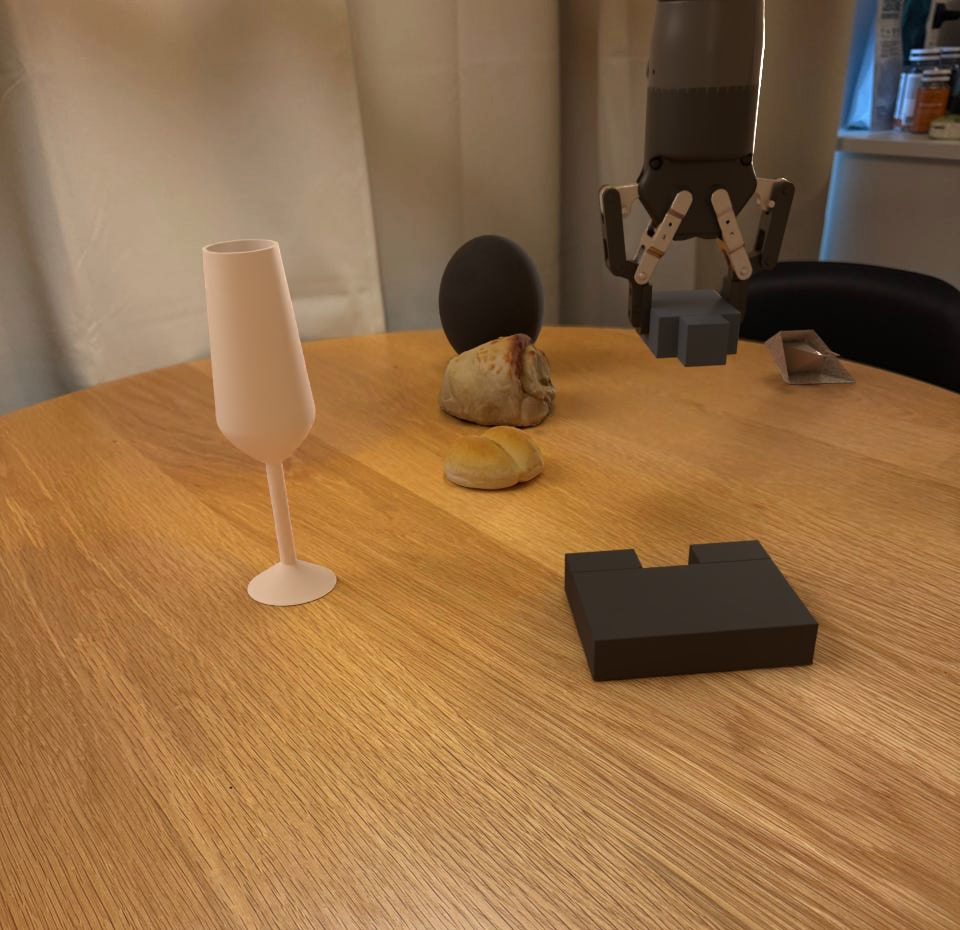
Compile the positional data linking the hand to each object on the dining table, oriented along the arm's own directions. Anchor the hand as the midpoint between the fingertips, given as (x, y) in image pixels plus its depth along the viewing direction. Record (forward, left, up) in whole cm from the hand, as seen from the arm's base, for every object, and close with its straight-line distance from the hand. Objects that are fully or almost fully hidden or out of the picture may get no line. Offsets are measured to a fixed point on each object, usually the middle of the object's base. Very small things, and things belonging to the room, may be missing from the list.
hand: (685, 329), depth 77 cm
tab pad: (0, +1, -1) cm, 2 cm away
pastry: (+12, -28, -15) cm, 34 cm away
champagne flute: (+31, +9, -15) cm, 36 cm away
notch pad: (+4, +19, -15) cm, 24 cm away
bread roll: (+14, -10, -15) cm, 23 cm away
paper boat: (-22, -30, -15) cm, 40 cm away
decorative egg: (+11, -43, -15) cm, 47 cm away
